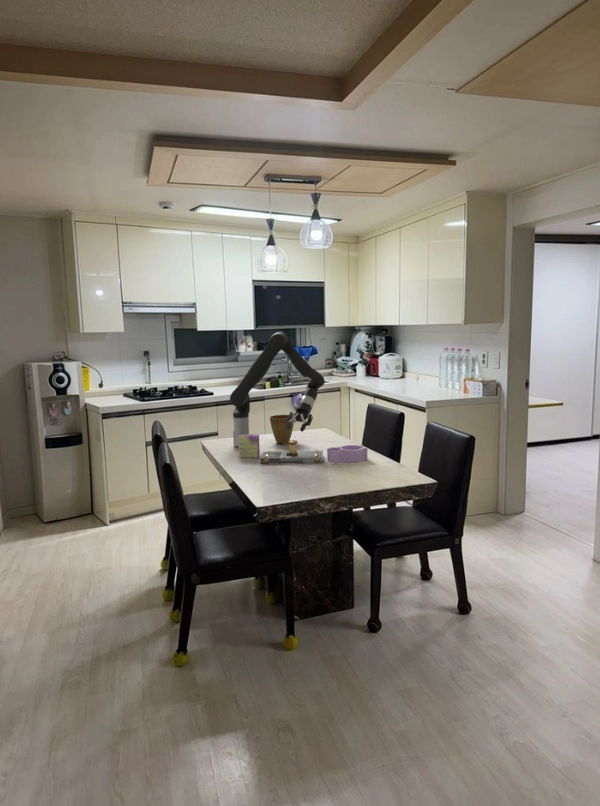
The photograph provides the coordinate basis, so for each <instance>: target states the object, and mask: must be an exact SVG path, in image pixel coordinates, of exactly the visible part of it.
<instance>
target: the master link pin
mask: <svg viewBox="0 0 600 806" xmlns="http://www.w3.org/2000/svg"><path fill="white" fill-rule="evenodd" d="M287 444H288V451H289V456H297V451H298V446H297V444H298V440H295V439H292V440H291V439H290V441H288V443H287Z"/></svg>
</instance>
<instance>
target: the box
mask: <svg viewBox="0 0 600 806" xmlns="http://www.w3.org/2000/svg"><path fill="white" fill-rule="evenodd" d="M238 440H239V447H238V458H256V457H257V458H259V457H260V454H261V453H260V434H259V433H258V434H252V433H251V434H240V435H239V437H238Z"/></svg>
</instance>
